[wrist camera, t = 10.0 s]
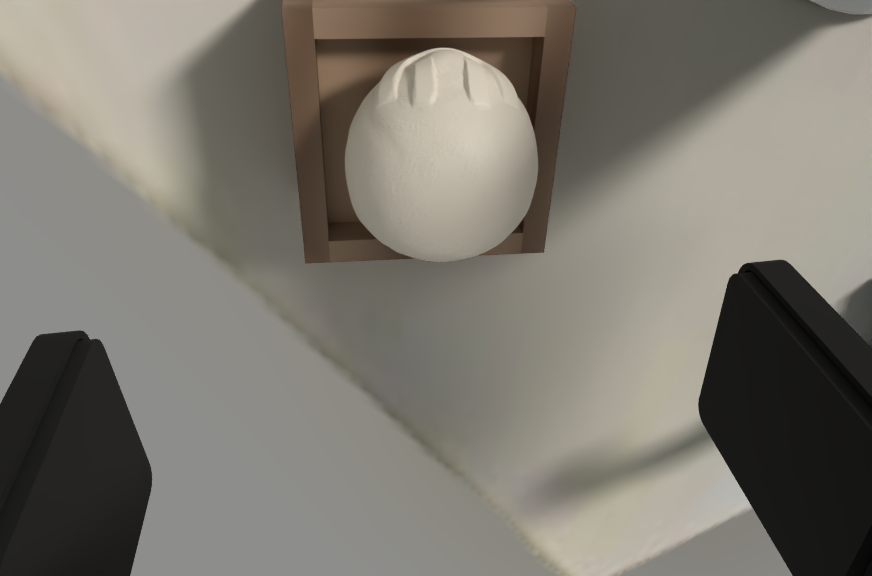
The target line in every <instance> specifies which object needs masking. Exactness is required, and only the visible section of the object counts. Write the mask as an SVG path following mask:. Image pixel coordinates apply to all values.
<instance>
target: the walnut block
mask: <svg viewBox="0 0 872 576" xmlns="http://www.w3.org/2000/svg"><path fill="white" fill-rule="evenodd" d="M281 9H282V20H283V30H284V41H285V52H286V62H287V73H288V83H289V94H290V104H291V115H292V125H293V136H294V147H295V157H296V168H297V178H298V189H299V199H300V210H301V221H302V231H303V242H304V252H305V263H323V262H345V261H367V260H389V259H411V258H412V257H409V256H406V255H404V254H401V253H398V252H396V251H394V250H392V249H391V248H390V247H388V246H386V245H384V244H383V243H381V242H380V241H379V240H378V239H377V238H376V237H375V236H373V235H372V234H371V233H370V231H369V230H368V229H367V228H366V227H365V226H364V225H363V224H362V223H361V221H360V220H359V218H358V217H357V215H356V213H355V211H354V209H353V206H352V203H351V199H350V195H349V191H348V186H347V181H346V175H345V149H346V145H347V140H348V135H349V129H350V126H351V123H352V120H353V118H354V116H355V114H356V112H357V110H358V109H359V107H360V105H361V103H362V102H363V100H364V99H365V97H366V96H367V95H368V93H369V92H370V91H371V90H372V89H373V88H374V87H375V86H376V85H377V84H378V83H379V82H380V81H381V79H382V77H383V76H384V74H385V73H386V72H387V70H388V69H389V68H390V67H391V66H393V65H394V64H396V63H398V62H400V61H402V60H404V59H406V58H408V57H410V56H413V55H415V54H418V53H421V52H424V51H426V50H430V49H435V48H453V49H457V50H460V51H463V52H465V53H468V54H470V55H472V56H474V57H476V58H478V59H480V60H482V61H484V62H486V63H488V64H490V65H491V66H493V67H495V68H496V69H498V70H499V71H500V72H502V73H503V74H504V75H505V76H506V77H507V78H508V79H509V81H510V82H511V83H512V85H513V87H514V88H515V91H516V93H517V96H518V98H519V99H520V101H521V102H522V103H523V105H524V107H525V109H526V110H527V113H528V115H529V118H530V121H531V124H532V126H533V130H534V134H535V138H536V145H537V153H538V176H537V183H536V187H535V190H534V194H533V198H532V201H531V204H530V207H529V209H528V211H527V213H526V215H525V217H524V218H523V220H522V221H521V222H520V224H519V225H518V226H517V228H515V230H514V231H513V232H512V233H511V234H510V235H509V236H508V237H507V238H506V239H505V240H504V241H503V242H501V243H500V244H498V245H497V246H496V247H494V248H492V249H490V250H488V251H487V252H485V253H482V254H480V255H499V254H521V253H543V252H544V247H545V240H546V232H547V225H548V217H549V209H550V202H551V194H552V187H553V179H554V171H555V164H556V156H557V149H558V141H559V133H560V126H561V118H562V111H563V103H564V95H565V88H566V80H567V73H568V65H569V57H570V50H571V42H572V35H573V27H574V19H575V12H576V6H574V5H573V4H572V3H571V2H570V1H569V0H283V3H282V8H281Z"/></svg>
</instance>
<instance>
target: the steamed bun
mask: <svg viewBox="0 0 872 576" xmlns="http://www.w3.org/2000/svg"><path fill="white" fill-rule="evenodd" d="M345 175H346V181H347V186H348V191H349V195H350V199H351V203H352V206H353V209H354V211H355V213H356V215H357V217H358V218H359V220H360V221H361V223H362V224H363V225H364V226H365V227H366V228H367V229H368V230H369V231H370V233H371V234H372V235H373V236H375V237H376V238H377V239H378V240H379V241H380V242H381V243H383V244H384V245H386V246H388V247H390V248H391V249H392V250H394V251H396V252H398V253H401V254H404V255H406V256H409V257H412V258H415V259H420V260H424V261H431V262H451V261H457V260H462V259H467V258H470V257H473V256H477V255H480V254H482V253H485V252H487V251H488V250H490V249H492V248H494V247H496V246H497V245H498V244H500V243H501V242H503V241H504V240H505V239H506V238H507V237H508V236H509V235H510V234H511V233H512V232H513V231H514V230H515V228H517V226H518V225H519V224H520V222H521V221H522V220H523V218H524V217H525V215H526V213H527V211H528V209H529V207H530V204H531V201H532V198H533V194H534V190H535V187H536V183H537V176H538V153H537V145H536V138H535V134H534V130H533V126H532V124H531V121H530V118H529V115H528V113H527V110H526V109H525V107H524V105H523V103H522V102H521V101H520V99H519V98H518V96H517V93H516V91H515V88H514V87H513V85H512V83H511V82H510V81H509V79H508V78H507V77H506V76H505V75H504V74H503V73H502V72H500V71H499V70H498V69H496V68H495V67H493V66H491V65H490V64H488V63H486V62H484V61H482V60H480V59H478V58H476V57H474V56H472V55H470V54H468V53H465V52H463V51H460V50H457V49H453V48H435V49H430V50H426V51H424V52H421V53H418V54H415V55H413V56H410V57H408V58H406V59H404V60H402V61H400V62H398V63H396V64H394V65H393V66H391V67H390V68H389V69H388V70H387V72H386V73H385V74H384V76H383V77H382V79H381V81H380V82H379V83H378V84H377V85H376V86H375V87H374V88H373V89H372V90H371V91H370V92H369V93H368V95H367V96H366V97H365V99H364V100H363V102H362V103H361V105H360V107H359V109H358V110H357V112H356V114H355V116H354V118H353V120H352V123H351V126H350V129H349V135H348V140H347V145H346V149H345Z"/></svg>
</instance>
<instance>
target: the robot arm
mask: <svg viewBox="0 0 872 576" xmlns="http://www.w3.org/2000/svg"><path fill="white" fill-rule="evenodd" d="M809 1H811V2H814V3H816V4H818V5H821V6H823V7H825V8H827V9H829V10H834V11H839V12H843V13H848V14H872V0H809ZM698 405H699V414H700V417H701V420H702V423H703V425H704V426H705V428H706V430H707V431H708V433H709V435H710V436H711V438H712V440H713V442H714V443H715V445H716V447H717V448H718V450H719V452H720V453H721V455H722V457H723V458H724V460H725V462H726V464H727V465H728V467H729V469H730V470H731V472H732V474H733V475H734V477H735V479H736V480H737V482H738V484H739V486H740V487H741V489H742V491H743V492H744V494H745V496H746V497H747V499H748V501H749V502H750V504H751V506H752V507H753V509H754V511H755V512H756V514H757V516H758V518H759V519H760V521H761V523H762V524H763V526H764V528H765V529H766V531H767V533H768V534H769V536H770V538H771V540H772V541H773V543H774V545H775V546H776V548H777V550H778V551H779V553H780V555H781V556H782V558H783V560H784V562H785V563H786V565H787V567H788V568H789V570H790V572H791V573H792V575H793V576H872V348H871V347H870V346H869V345H868V344H867V343H866V342H865V341H864V340H863V339H862V338H861V337H860V336H859V335H858V334H857V332H856V331H855V330H854V329H853V328H852V327H851V326H850V325H849V324H848V323H847V322H846V321H845V320H844V319H843V318H842V317H841V316H840V315H839V314H838V313H837V312H836V311H835V310H834V309H833V308H832V307H831V306H830V305H829V304H828V303H827V302H826V301H825V299H824V298H823V297H822V296H821V295H820V294H819V293H818V292H817V291H816V290H815V289H814V288H813V287H812V286H811V285H810V284H809V283H808V282H807V281H806V280H805V279H804V278H803V277H802V276H801V275H800V274H799V273H798V272H797V271H796V270H795V269H794V267H793V266H792V265H791V264H789V263H788V262H787V261H785V260H773V261H763V262H753V263H746V264H744V265H743V266H742V267H741V268H740V270H739V272H738V274H733V275H732V276H731V277H730V278H729V281H728V284H727V288H726V292H725V296H724V300H723V304H722V308H721V312H720V317H719V321H718V325H717V329H716V333H715V337H714V341H713V345H712V349H711V353H710V357H709V361H708V365H707V369H706V373H705V377H704V381H703V385H702V389H701V393H700V397H699V403H698ZM151 487H152V472H151V467H150V464H149V461H148V459H147V456H146V453H145V451H144V448H143V446H142V443H141V440H140V438H139V435H138V433H137V430H136V428H135V425H134V423H133V420H132V417H131V415H130V412H129V410H128V407H127V404H126V402H125V399H124V397H123V394H122V392H121V390H120V387H119V385H118V381H117V379H116V376H115V374H114V371H113V369H112V366H111V364H110V361H109V358H108V356H107V353H106V351H105V348H104V346H103V344H102V342H101V341H100V340H98V339H92V340H90V339H89V337H88V335H87V334H86V333H85V332H84V331H70V332H60V333H50V334H41V335H39V336H37V337H36V338H35V339H34V341H33V342H32V344H31V346H30V348H29V350H28V352H27V354H26V356H25V358H24V359H23V361H22V364H21V365H20V367H19V369H18V371H17V373H16V375H15V377H14V379H13V381H12V383H11V384H10V387H9V388H8V390H7V392H6V394H5V396H4V398H3V400H2V402H1V404H0V576H130V574H131V570H132V566H133V562H134V558H135V553H136V549H137V545H138V541H139V537H140V533H141V529H142V525H143V521H144V516H145V513H146V509H147V504H148V500H149V496H150V492H151Z"/></svg>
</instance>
